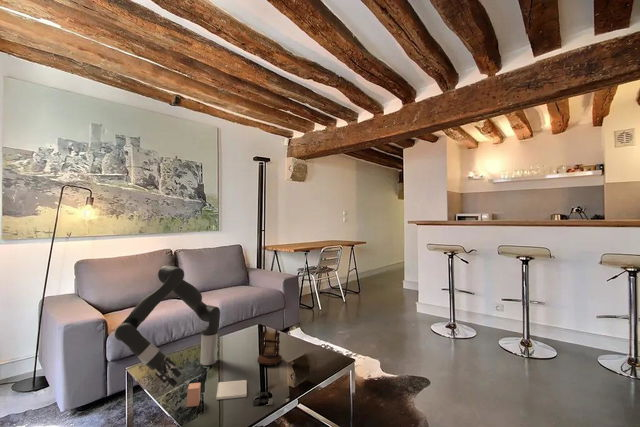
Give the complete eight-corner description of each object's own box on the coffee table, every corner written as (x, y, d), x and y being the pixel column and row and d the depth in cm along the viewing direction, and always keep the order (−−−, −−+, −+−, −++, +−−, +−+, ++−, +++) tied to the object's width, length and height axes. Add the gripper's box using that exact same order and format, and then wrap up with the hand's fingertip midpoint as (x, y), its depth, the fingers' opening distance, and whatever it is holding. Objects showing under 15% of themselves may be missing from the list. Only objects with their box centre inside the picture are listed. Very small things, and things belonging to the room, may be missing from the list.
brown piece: (284, 357, 196) (285, 325, 197) (278, 368, 181) (279, 334, 182) (261, 356, 198) (262, 324, 198) (254, 366, 183) (255, 332, 184)
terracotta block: (188, 400, 146) (189, 383, 147) (200, 399, 148) (200, 382, 148) (186, 406, 142) (187, 389, 142) (198, 405, 143) (199, 388, 143)
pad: (218, 384, 162) (218, 382, 162) (246, 382, 165) (246, 379, 165) (216, 399, 148) (216, 397, 148) (246, 396, 151) (246, 394, 151)
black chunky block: (249, 409, 142) (250, 398, 142) (250, 400, 149) (250, 390, 150) (277, 406, 145) (277, 396, 145) (276, 398, 152) (276, 388, 152)
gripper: (154, 356, 135) (181, 381, 137) (162, 344, 149) (187, 366, 151) (139, 370, 133) (167, 394, 136) (149, 356, 147) (174, 378, 150)
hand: (177, 380), depth 143 cm, fingers open, 8 cm apart
